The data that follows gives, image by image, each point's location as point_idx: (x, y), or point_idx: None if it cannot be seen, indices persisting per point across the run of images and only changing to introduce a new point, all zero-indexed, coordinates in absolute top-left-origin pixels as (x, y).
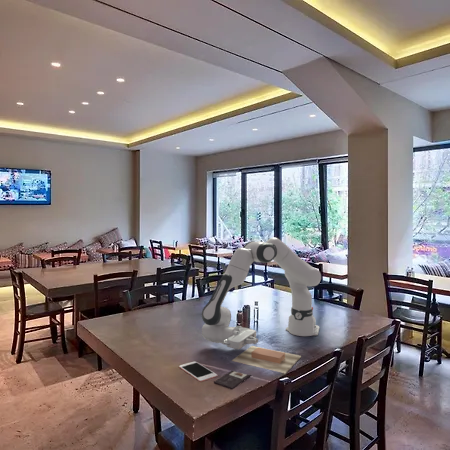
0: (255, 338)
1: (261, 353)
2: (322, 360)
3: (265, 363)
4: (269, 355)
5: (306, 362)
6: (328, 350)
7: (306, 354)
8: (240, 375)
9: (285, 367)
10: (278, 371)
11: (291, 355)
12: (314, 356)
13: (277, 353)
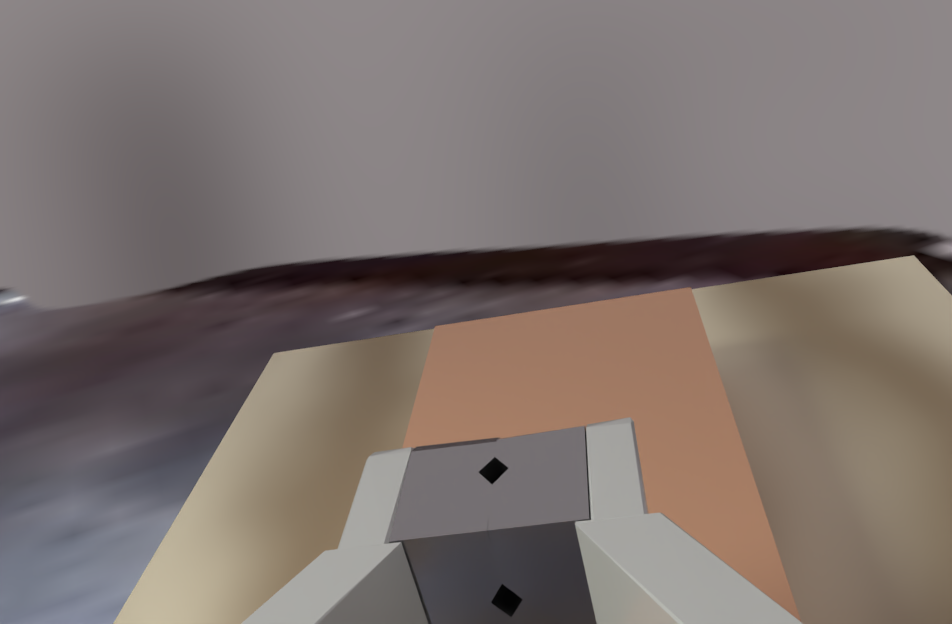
0: (380, 509)
1: (713, 536)
2: (316, 263)
3: (857, 505)
4: (698, 395)
5: (421, 298)
6: (50, 313)
7: (181, 367)
8: None
9: (745, 307)
10: (945, 298)
11: (294, 408)
12: (229, 317)
13: (510, 368)
